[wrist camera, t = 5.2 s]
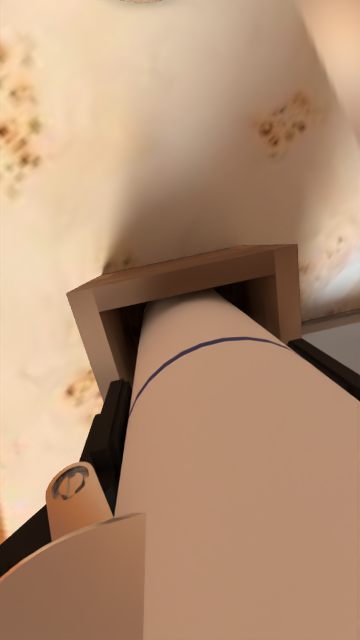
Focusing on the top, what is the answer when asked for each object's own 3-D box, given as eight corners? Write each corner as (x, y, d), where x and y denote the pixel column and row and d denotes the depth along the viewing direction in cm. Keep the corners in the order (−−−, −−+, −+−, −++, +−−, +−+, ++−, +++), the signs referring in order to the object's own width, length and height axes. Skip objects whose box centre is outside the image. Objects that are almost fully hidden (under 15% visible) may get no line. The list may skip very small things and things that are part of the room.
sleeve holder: (101, 275, 19) (66, 293, 11) (241, 245, 20) (297, 244, 12) (137, 396, 22) (128, 473, 15) (255, 369, 23) (306, 430, 15)
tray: (260, 331, 22) (273, 341, 19) (385, 303, 22) (413, 309, 20) (274, 465, 27) (285, 487, 24) (377, 439, 27) (398, 458, 25)
